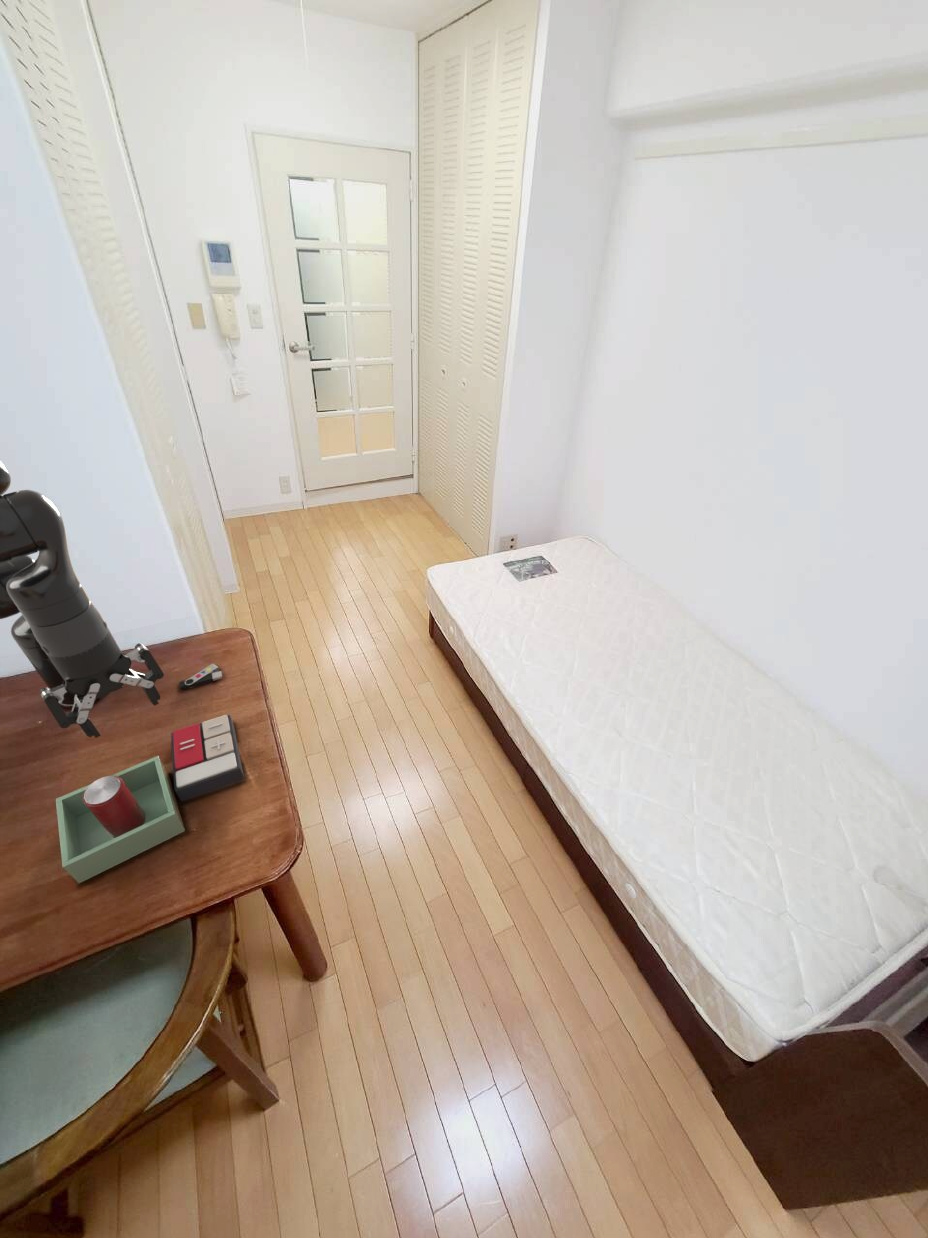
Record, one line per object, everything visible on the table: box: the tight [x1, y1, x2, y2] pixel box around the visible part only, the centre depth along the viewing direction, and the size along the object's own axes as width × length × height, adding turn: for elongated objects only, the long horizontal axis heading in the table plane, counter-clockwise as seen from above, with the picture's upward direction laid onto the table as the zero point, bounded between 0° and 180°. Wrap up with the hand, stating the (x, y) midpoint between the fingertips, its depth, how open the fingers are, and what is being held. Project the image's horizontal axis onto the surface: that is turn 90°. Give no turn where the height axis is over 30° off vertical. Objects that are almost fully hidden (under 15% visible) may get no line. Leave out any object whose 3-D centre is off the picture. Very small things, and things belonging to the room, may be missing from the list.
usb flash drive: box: [178, 663, 223, 691], centre depth 114 cm, size 9×5×1 cm, turn 117°
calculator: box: [170, 714, 245, 802], centre depth 97 cm, size 11×4×15 cm
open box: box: [55, 755, 186, 884], centre depth 86 cm, size 14×16×6 cm
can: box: [83, 775, 145, 838], centre depth 84 cm, size 6×6×10 cm
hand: (126, 718), depth 79 cm, fingers open, 8 cm apart
